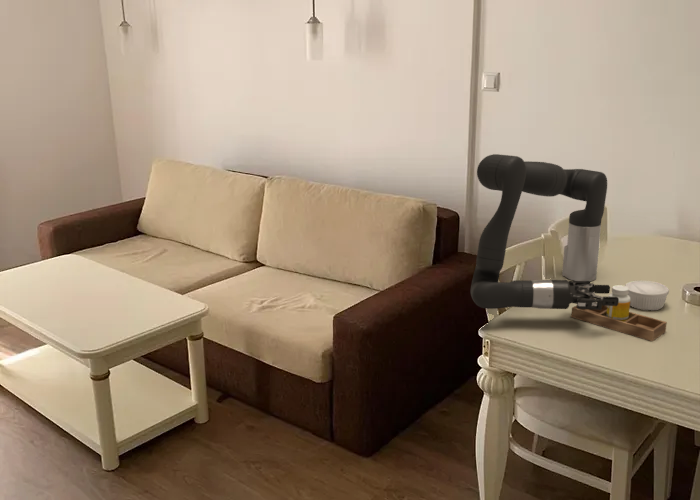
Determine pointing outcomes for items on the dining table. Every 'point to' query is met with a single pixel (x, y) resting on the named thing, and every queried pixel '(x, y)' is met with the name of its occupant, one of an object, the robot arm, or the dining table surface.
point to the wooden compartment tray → (623, 323)
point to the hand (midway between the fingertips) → (613, 295)
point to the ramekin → (647, 294)
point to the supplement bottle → (619, 303)
